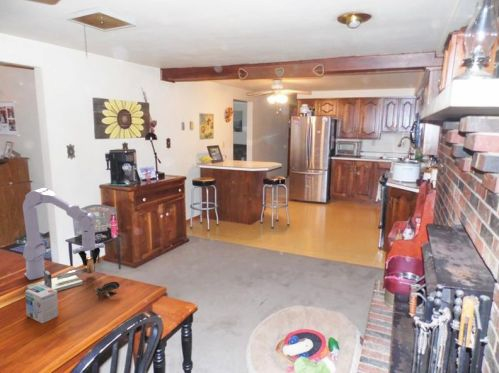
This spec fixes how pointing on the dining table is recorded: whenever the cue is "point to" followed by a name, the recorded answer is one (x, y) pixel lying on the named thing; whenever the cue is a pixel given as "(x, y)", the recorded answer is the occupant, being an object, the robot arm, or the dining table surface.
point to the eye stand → (57, 282)
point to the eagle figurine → (107, 289)
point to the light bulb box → (41, 303)
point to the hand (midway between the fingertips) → (89, 264)
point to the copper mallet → (88, 269)
